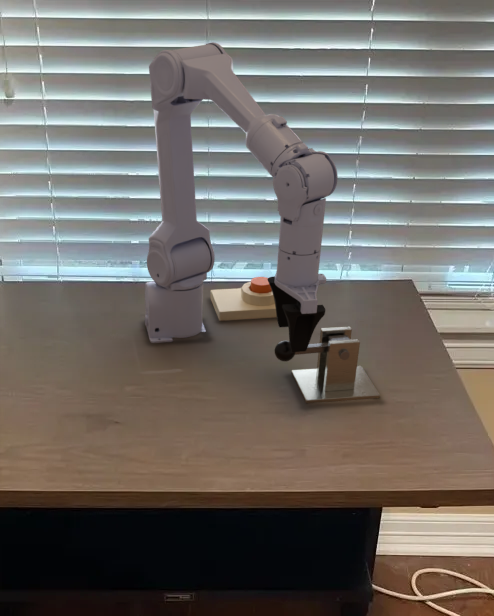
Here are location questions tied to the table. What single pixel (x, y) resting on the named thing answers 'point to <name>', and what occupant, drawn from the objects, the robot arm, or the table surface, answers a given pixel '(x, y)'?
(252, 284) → the button
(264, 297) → the control block
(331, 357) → the bracket
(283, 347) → the lever
